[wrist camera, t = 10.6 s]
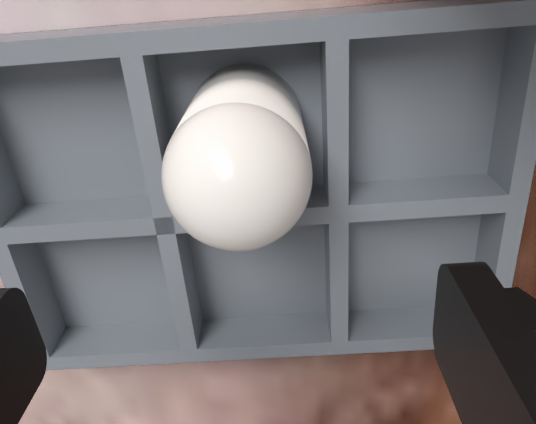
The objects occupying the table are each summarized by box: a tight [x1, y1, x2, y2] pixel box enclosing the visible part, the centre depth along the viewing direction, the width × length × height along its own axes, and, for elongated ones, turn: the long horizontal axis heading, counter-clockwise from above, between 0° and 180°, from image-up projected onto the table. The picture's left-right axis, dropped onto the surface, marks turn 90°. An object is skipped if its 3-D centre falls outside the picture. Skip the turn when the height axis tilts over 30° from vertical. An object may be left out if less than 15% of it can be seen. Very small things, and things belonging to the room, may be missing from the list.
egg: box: [161, 63, 313, 251], centre depth 17 cm, size 5×5×8 cm
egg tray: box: [0, 0, 536, 370], centre depth 21 cm, size 22×15×3 cm
